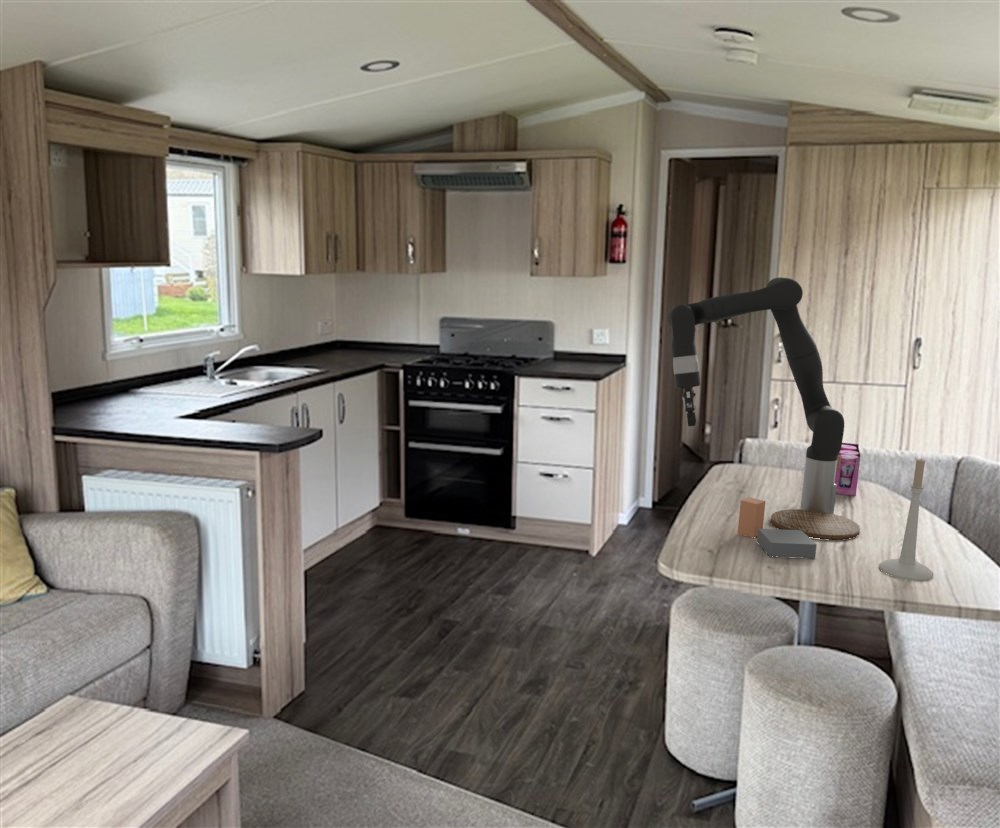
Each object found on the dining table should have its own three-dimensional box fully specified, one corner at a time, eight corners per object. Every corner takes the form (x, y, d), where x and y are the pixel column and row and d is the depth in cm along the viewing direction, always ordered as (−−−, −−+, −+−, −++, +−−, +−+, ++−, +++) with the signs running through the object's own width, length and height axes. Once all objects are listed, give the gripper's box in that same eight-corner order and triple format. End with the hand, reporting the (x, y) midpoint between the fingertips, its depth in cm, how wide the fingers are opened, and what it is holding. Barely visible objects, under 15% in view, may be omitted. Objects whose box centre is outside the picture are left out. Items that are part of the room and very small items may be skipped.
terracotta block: (746, 530, 261) (749, 497, 259) (762, 534, 258) (765, 501, 256) (737, 534, 258) (740, 500, 256) (753, 538, 254) (756, 504, 252)
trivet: (866, 545, 254) (867, 539, 253) (774, 536, 258) (774, 529, 258) (851, 520, 278) (851, 514, 277) (766, 511, 282) (767, 505, 282)
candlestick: (887, 559, 242) (901, 449, 236) (939, 571, 234) (955, 458, 228) (872, 571, 232) (886, 457, 226) (925, 584, 224) (941, 467, 218)
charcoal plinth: (799, 544, 251) (801, 530, 250) (815, 558, 239) (816, 544, 239) (756, 542, 251) (758, 528, 250) (769, 557, 239) (771, 542, 238)
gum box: (856, 497, 303) (861, 457, 301) (831, 494, 306) (836, 455, 303) (854, 481, 325) (859, 444, 323) (831, 478, 328) (835, 441, 325)
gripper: (698, 370, 264) (704, 425, 265) (699, 369, 278) (705, 422, 279) (672, 373, 266) (678, 428, 267) (674, 372, 280) (680, 424, 280)
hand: (692, 425), depth 273 cm, fingers open, 8 cm apart
